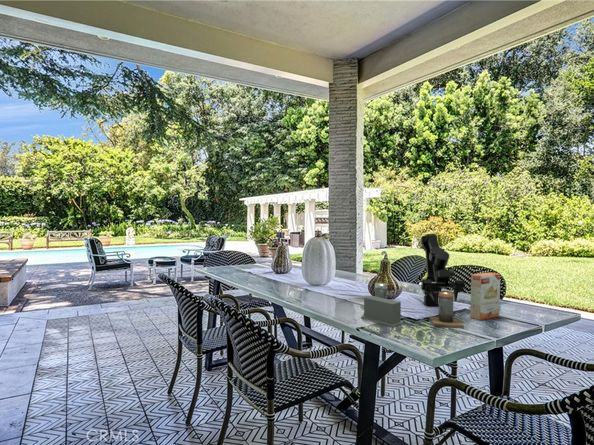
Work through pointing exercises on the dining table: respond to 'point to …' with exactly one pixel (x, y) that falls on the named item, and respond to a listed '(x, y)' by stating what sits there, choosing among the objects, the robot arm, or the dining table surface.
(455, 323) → the walnut plate
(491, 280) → the cracker box
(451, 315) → the copper capped grey cylinder
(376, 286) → the steel cartridge
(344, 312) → the dining table surface
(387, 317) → the block
